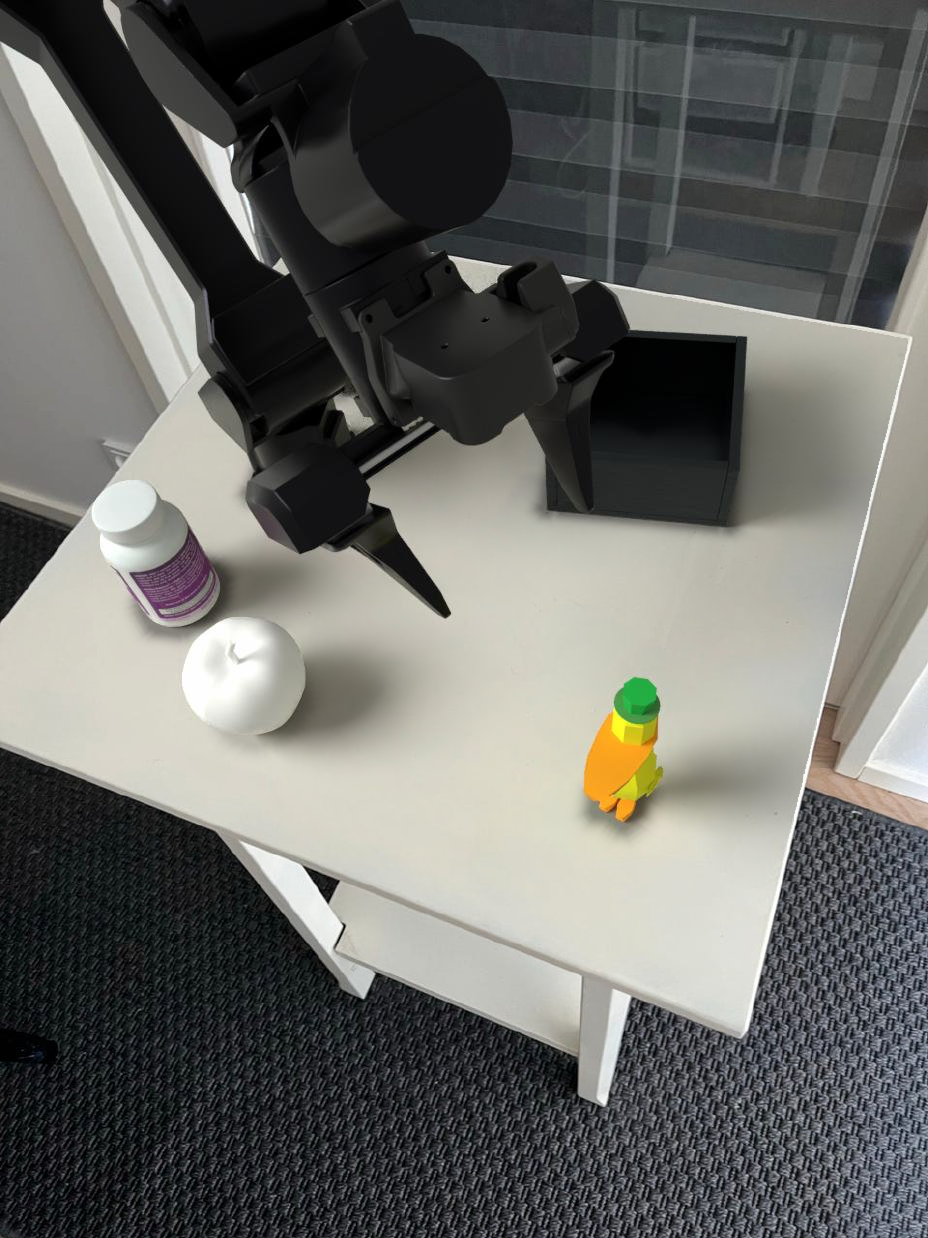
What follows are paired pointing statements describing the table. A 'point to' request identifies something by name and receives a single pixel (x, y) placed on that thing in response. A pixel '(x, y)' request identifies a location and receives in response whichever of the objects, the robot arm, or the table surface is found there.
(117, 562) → the pill bottle
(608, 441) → the open black box
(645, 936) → the table surface
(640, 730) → the toy figure
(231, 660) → the plain white apple
